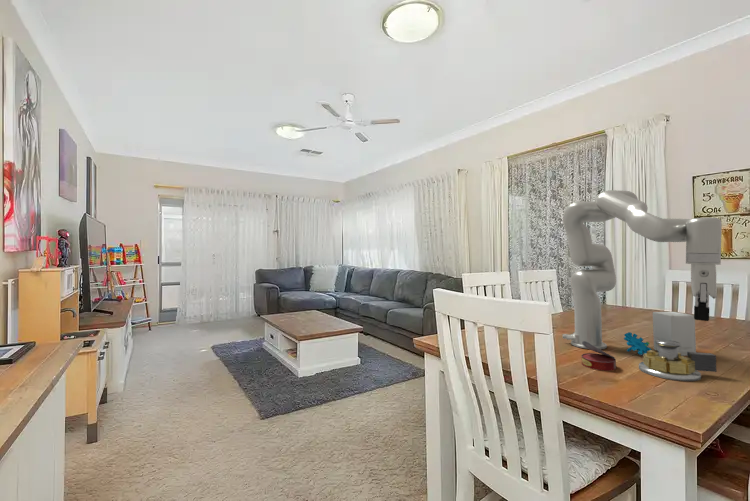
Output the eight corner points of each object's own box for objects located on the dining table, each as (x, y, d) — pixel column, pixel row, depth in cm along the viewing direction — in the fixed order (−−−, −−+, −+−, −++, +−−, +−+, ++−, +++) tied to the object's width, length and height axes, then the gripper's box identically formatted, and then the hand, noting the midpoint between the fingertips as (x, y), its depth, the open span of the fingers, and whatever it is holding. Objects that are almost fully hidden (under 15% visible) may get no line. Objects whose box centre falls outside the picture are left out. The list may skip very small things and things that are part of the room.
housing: (647, 377, 104) (646, 345, 104) (633, 362, 118) (632, 334, 118) (711, 384, 98) (710, 350, 98) (688, 367, 112) (687, 338, 112)
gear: (638, 354, 122) (621, 330, 129) (626, 362, 126) (610, 338, 133) (660, 355, 125) (642, 332, 132) (648, 363, 129) (630, 340, 136)
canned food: (583, 374, 120) (579, 346, 125) (617, 376, 115) (612, 347, 120) (581, 368, 112) (577, 338, 116) (618, 369, 107) (612, 338, 111)
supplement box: (697, 356, 124) (696, 315, 124) (672, 356, 124) (671, 315, 124) (675, 349, 133) (674, 311, 133) (652, 349, 133) (651, 311, 133)
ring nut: (654, 371, 104) (654, 355, 104) (638, 360, 115) (638, 345, 115) (726, 377, 99) (726, 360, 99) (702, 364, 110) (702, 349, 110)
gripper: (723, 260, 92) (722, 327, 93) (717, 258, 104) (716, 317, 104) (686, 260, 97) (685, 322, 98) (684, 257, 109) (683, 313, 109)
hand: (701, 319), depth 101 cm, fingers closed
